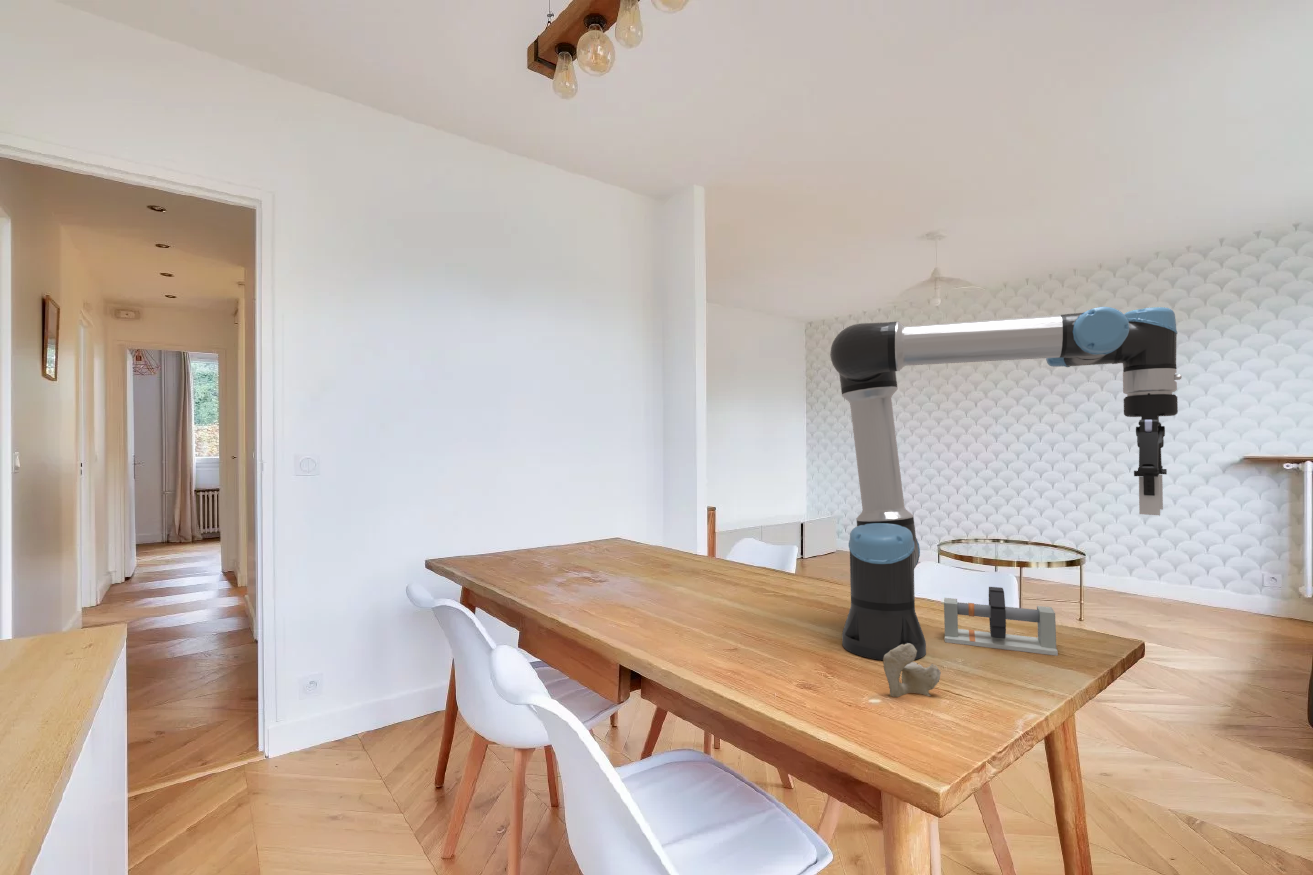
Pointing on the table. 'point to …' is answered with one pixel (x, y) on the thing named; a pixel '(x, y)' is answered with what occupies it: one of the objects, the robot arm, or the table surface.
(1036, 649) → the pipe rig
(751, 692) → the table surface
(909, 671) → the bone
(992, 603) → the o-ring
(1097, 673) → the table surface
